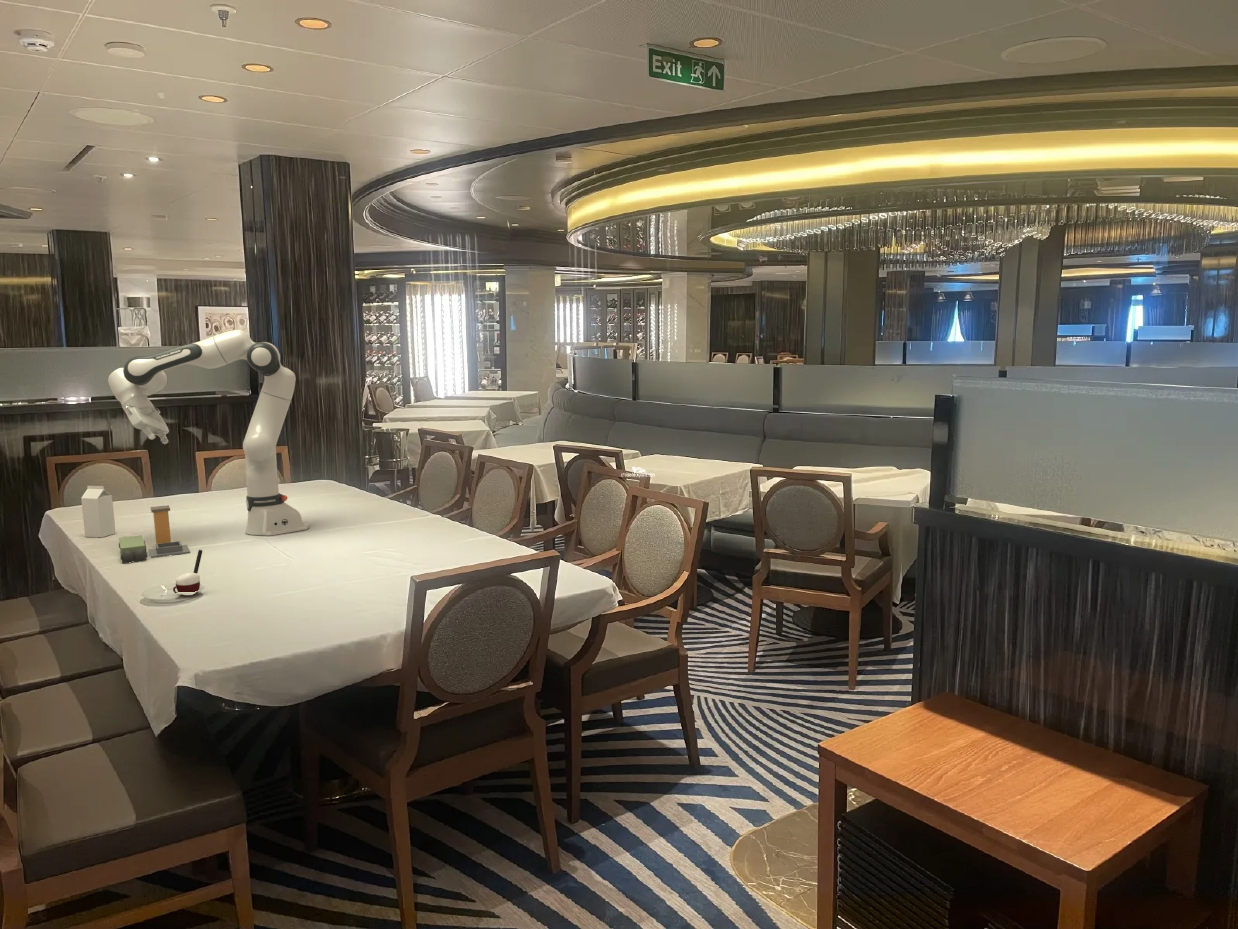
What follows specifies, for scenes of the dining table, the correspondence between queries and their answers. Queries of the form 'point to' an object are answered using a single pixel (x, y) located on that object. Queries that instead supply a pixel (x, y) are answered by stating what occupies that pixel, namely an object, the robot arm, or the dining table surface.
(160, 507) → the orange tall block
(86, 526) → the milk carton
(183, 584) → the cocoa
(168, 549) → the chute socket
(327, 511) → the dining table surface
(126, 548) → the green dark block
